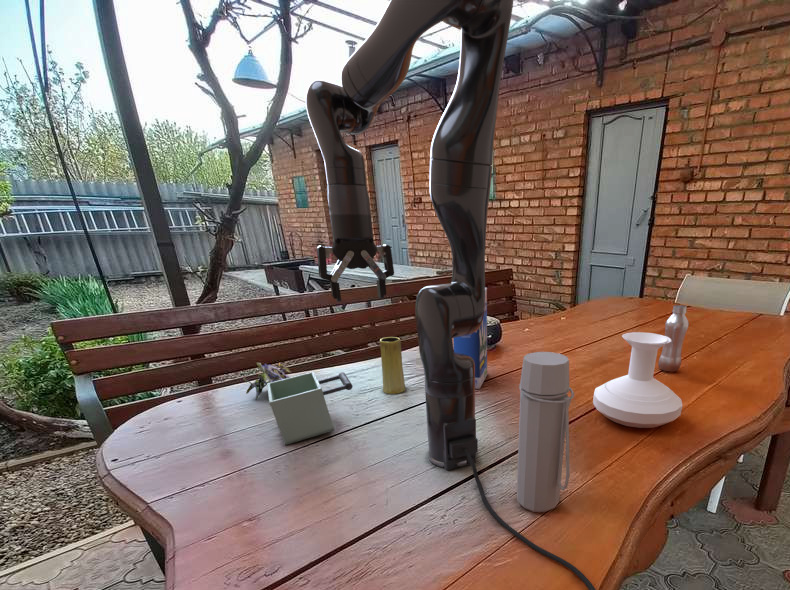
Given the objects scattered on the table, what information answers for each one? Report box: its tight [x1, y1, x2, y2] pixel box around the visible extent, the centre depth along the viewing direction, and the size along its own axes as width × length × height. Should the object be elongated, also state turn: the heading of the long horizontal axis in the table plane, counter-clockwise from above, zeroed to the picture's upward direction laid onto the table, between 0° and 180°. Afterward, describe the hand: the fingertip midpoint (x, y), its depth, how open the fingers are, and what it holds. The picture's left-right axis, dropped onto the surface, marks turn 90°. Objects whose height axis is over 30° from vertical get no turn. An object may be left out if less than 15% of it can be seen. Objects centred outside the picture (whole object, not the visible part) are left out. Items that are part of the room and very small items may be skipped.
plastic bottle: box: [657, 304, 690, 372], centre depth 129 cm, size 6×7×20 cm
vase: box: [379, 336, 407, 395], centre depth 114 cm, size 6×6×14 cm
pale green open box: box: [266, 371, 353, 446], centre depth 94 cm, size 12×16×10 cm
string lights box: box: [452, 287, 488, 390], centre depth 119 cm, size 13×8×26 cm, turn 171°
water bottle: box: [516, 351, 575, 513], centre depth 65 cm, size 9×8×25 cm
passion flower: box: [242, 362, 293, 401], centre depth 110 cm, size 11×11×12 cm
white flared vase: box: [592, 331, 683, 429], centre depth 98 cm, size 20×20×19 cm
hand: (360, 299), depth 87 cm, fingers open, 8 cm apart
